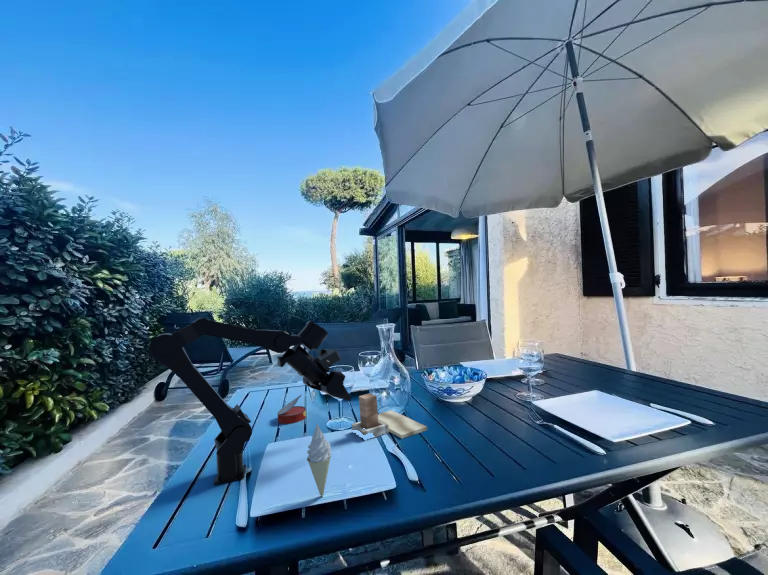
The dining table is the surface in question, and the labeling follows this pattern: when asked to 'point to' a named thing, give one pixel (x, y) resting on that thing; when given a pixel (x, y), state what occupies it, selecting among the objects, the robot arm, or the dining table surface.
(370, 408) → the peg
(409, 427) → the socket
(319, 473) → the ice cream cone
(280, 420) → the canned food
